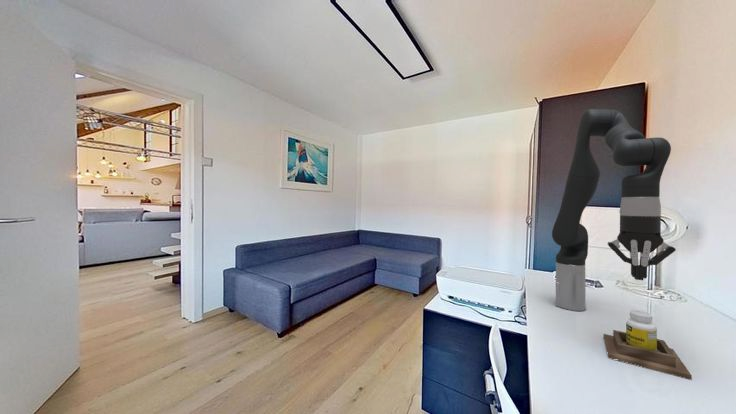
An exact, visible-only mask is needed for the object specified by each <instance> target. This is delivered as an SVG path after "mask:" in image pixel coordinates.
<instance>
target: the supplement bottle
mask: <svg viewBox="0 0 736 414" xmlns="http://www.w3.org/2000/svg"><path fill="white" fill-rule="evenodd" d="M629 317H630V318H627V319H626V321H625V325H626V326H625V327H626V328H625V329H626V330H625V331H626V345H630V346H635V347H639V348H643V349H648V350H652V351H657V339H658V334H657V333H658V328H657V326H656V324H654V323H653V315H652V314H651V313H649V312H646V311H641V310H635V309H633V310H632V309H631V310H630V311H629Z"/></svg>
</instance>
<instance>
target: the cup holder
mask: <svg viewBox="0 0 736 414" xmlns="http://www.w3.org/2000/svg"><path fill="white" fill-rule="evenodd" d="M612 332H613V333H612V335H611V334H606V333H603V340H604V344H605V345H604V346H605V349H606V352H608V354H607V357H609V358H612V359H611V360H613V359H618V360H621V361H624V362H623V363H625V362H628V363H627V364H629V363H632V364H636V365H639V366H638V367H640V366H642V367H641V368H644V367H645V369H648V370H653V371H656V372H659V371H660V372H661V373H663V372H664V373H663V374H667V373H669V374H668V375H671V374H674V375H673V376H675V375H677V376H676V377H679V376H681V377H680V378H683V377H685V378H684V379H687V380H690V379H691V380H692V379H693V378H692V374H691V372H690V371H689V369H688V368H687V367H686V366H685V364H684V362H683V361H682V360H681V359H680V357H679V356H678V354H677V353H676V351H675V349H674V348H671V347H669V345H668V344H667V342H666V341H665V340H664V339H660V338H657V351H652V350H648V349H643V348H639V347H635V346H630V345H626V332H625V331H620V330H616V329H613V330H612ZM609 358H608V359H609ZM621 361H620V362H621ZM632 364H631V365H632ZM636 365H635V366H636ZM691 380H690V381H691Z"/></svg>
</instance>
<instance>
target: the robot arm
mask: <svg viewBox="0 0 736 414" xmlns="http://www.w3.org/2000/svg"><path fill="white" fill-rule="evenodd" d="M591 137H600V138H601V137H604V140H605V144H606V146H608V147H609V148H610V149H611V150H612V151H613V155H612V157H613V162H614V163H615V164H616V165H618V166H622V167H637V166H639V167H640V166H645V168H644V170H643V171H642V172H641V173H637V174H631V175H626V176H625V177H623V178H622V179H621V201H620V206H619V233H618V235H617V237H616V239H615V240H612V241H608V242H607V246H608V247H609V248H610V249H611V250H612V251H613V252H614V253H615V255H617V256H618V257H619V258H620V260H622V261H623V262H624V263H627V264H630V275H631V276H632V278H634V279H635V280H636V281H644V279H647V278H648V267H649V266H658V264H660V263H662V262H663V261H664V260H665V259H666V258H668V257H669V256H671V255H672V254H673V253H674V252H676V248H675V247H674V246H672V245H669V244H667V243H666V242H665V241H664V238H663V237H662V233H661V232H662V229H661V228H662V227H661V226H662V225H661V223H662V204H661V199H660V194H661V193H660V190H661V189H660V186H661V179H662V175H663V172H664V169H665V166H666V165H667V162H668V160H669V158H670V155H671V151H672V147H671V144H670V142H669V140H668V139H666V138H664V137H648V138H646V137H645V135H644V134H643V133H641V132H640V131H639V130H637V129H636V128H634V127H632V126H631V125H630V124H629V121H628V120H627V118H626V117H625V115H624V114H623V113H622V112H621V111H619V110H617V109H609V108H607V109H606V108H605V109H604V108H603V109H601V108H589V109H586V110H585V111H584V112H583V113H582V115H581V118H580V120H579V123H578V128H577V135H576V141H575V147H574V152H573V156H572V160H571V163H570V167H569V171H568V173H567V178H566V182H565V186H564V187H565V188H564V192H563V196H562V198H561V204H560V208H559V211H558V213H557V217H556V220H555V222H554V224H553V226H552V231H551V238H552V239H553V242H554V243H555V244H556V245H558V246H560V249H559V251H558V253H557V254H555V307H559V308H562V309H565V310H569V311H574V312H582V311H583V312H584V311H585V310H586V308H587V307H586V305H587V301H586V300H587V299H586V296H587V295H586V294H587V293H586V260H587V258H588V254H589V233H588V230H587V229H586V227H585V226H584V225H583V224H581V223H580V222H581V218H582V215H583V213H584V210H585V209H586V208H587V206H588V205H589V203H590V201H591V200H592V198H593V197H594V195H595V193H596V191H597V187H598V185H599V184H598V183H599V180H600V178H601V177H600V176H601V171H600V169H599V166H598V164H597V162H596V160H595V158H594V156H593V154H592V151H591V146H590V144H591V143H590V142H591ZM620 244H621V245H622V246H623V247H624V248H625V249H626V251H628V252H629V257H627V255H625V253H624V252H623V251H621V249H620V248H621V245H620ZM658 248H659V252H658V253H656V254H655V255H653V257H651V258H650V256H651V255H650V254H651V253H653V252H654V251H655V250H657V249H658Z"/></svg>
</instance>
